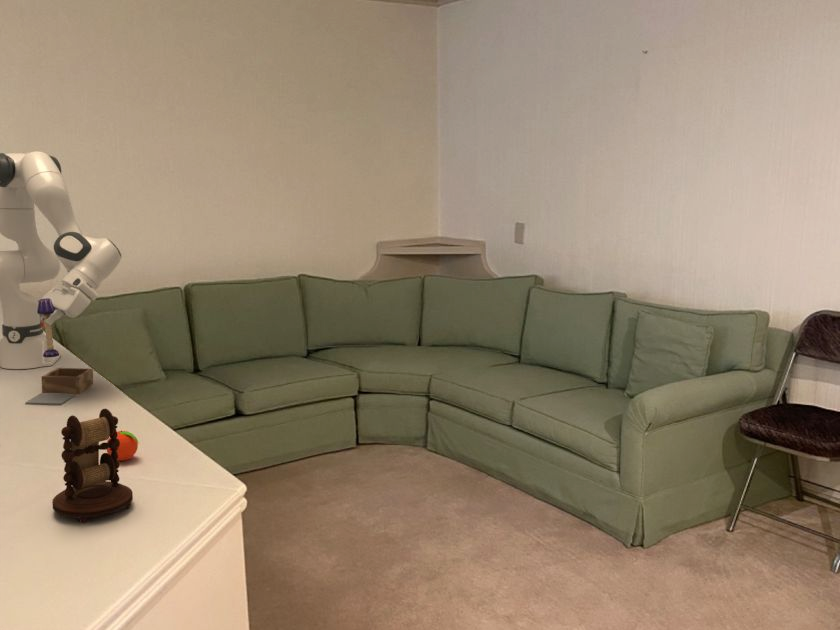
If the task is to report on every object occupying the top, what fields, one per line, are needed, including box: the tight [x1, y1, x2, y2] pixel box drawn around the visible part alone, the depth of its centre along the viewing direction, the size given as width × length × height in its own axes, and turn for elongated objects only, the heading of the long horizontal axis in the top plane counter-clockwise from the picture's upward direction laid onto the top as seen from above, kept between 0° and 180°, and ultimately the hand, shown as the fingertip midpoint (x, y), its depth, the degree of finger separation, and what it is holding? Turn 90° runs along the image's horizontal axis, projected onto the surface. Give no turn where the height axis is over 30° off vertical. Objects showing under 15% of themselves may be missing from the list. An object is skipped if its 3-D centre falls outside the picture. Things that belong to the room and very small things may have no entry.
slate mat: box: [24, 392, 76, 406], centre depth 228 cm, size 10×10×1 cm
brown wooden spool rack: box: [52, 408, 134, 524], centre depth 155 cm, size 15×15×20 cm
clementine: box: [106, 430, 140, 462], centre depth 182 cm, size 8×7×7 cm
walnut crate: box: [40, 367, 94, 395], centre depth 240 cm, size 11×11×5 cm
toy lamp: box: [37, 298, 60, 357], centre depth 224 cm, size 5×5×17 cm
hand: (44, 322), depth 223 cm, fingers closed on toy lamp
